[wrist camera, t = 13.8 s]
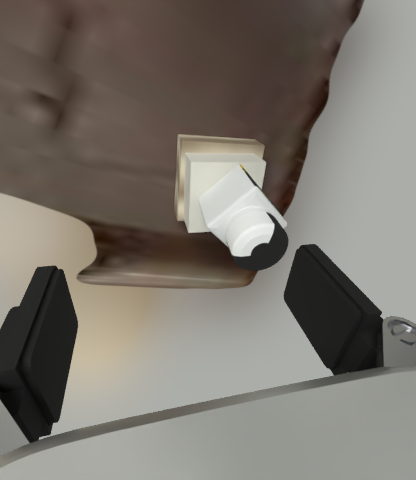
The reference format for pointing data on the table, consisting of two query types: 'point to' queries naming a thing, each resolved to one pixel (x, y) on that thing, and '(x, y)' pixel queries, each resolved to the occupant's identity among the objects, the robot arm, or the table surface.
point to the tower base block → (206, 146)
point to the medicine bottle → (245, 220)
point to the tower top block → (212, 180)
